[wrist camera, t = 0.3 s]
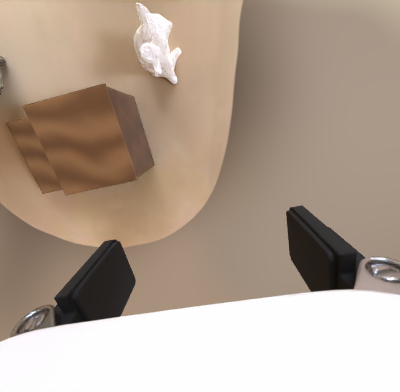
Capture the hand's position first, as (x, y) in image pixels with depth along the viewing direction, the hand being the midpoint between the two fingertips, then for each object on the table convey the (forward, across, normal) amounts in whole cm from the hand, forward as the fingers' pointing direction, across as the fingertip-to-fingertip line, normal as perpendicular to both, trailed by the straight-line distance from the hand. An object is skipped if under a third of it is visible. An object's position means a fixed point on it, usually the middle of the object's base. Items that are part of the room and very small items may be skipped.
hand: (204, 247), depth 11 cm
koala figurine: (+31, +4, -18) cm, 36 cm away
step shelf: (+31, +22, -8) cm, 38 cm away
